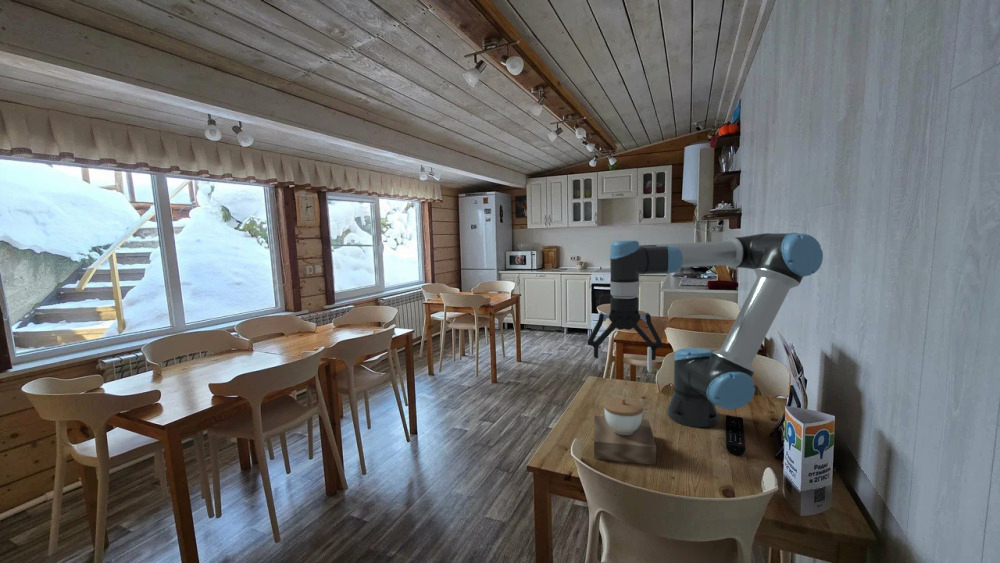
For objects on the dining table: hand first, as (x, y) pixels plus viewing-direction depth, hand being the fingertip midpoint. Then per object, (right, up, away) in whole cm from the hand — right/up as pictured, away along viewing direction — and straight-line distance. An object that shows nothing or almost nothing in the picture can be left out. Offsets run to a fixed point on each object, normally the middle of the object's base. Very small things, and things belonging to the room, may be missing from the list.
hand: (624, 370), depth 116 cm
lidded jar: (0, -18, +2) cm, 18 cm away
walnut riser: (0, -23, +2) cm, 23 cm away
